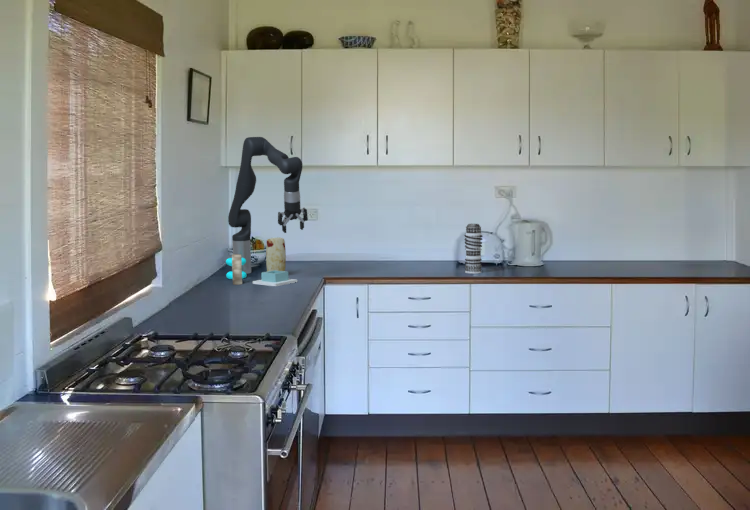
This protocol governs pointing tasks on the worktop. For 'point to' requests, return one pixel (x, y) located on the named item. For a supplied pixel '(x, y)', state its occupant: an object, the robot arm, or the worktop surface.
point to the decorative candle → (473, 248)
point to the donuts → (229, 274)
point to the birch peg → (237, 269)
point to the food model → (275, 254)
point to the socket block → (274, 278)
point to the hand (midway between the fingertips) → (293, 230)
